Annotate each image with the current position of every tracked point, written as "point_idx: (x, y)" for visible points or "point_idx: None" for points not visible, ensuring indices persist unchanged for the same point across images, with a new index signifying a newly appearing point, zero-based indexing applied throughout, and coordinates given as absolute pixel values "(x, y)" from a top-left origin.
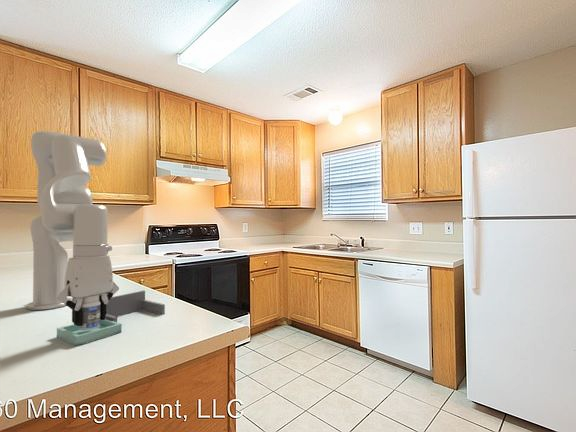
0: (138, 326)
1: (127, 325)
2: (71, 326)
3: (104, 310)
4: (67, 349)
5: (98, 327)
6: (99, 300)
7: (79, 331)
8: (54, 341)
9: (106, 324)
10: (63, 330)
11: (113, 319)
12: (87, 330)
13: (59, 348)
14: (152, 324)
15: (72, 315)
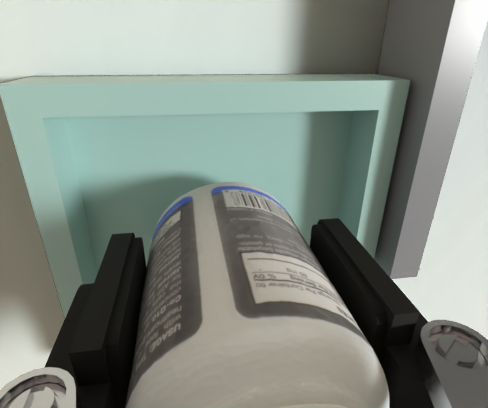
0: (433, 294)
1: (428, 235)
2: (132, 114)
3: None
4: (50, 347)
5: (305, 176)
6: (424, 384)
7: (183, 153)
8: (6, 165)
9: (346, 212)
10: (40, 207)
11: (383, 269)
12: (228, 180)
13: (16, 309)
14: (478, 315)
15: (63, 338)
